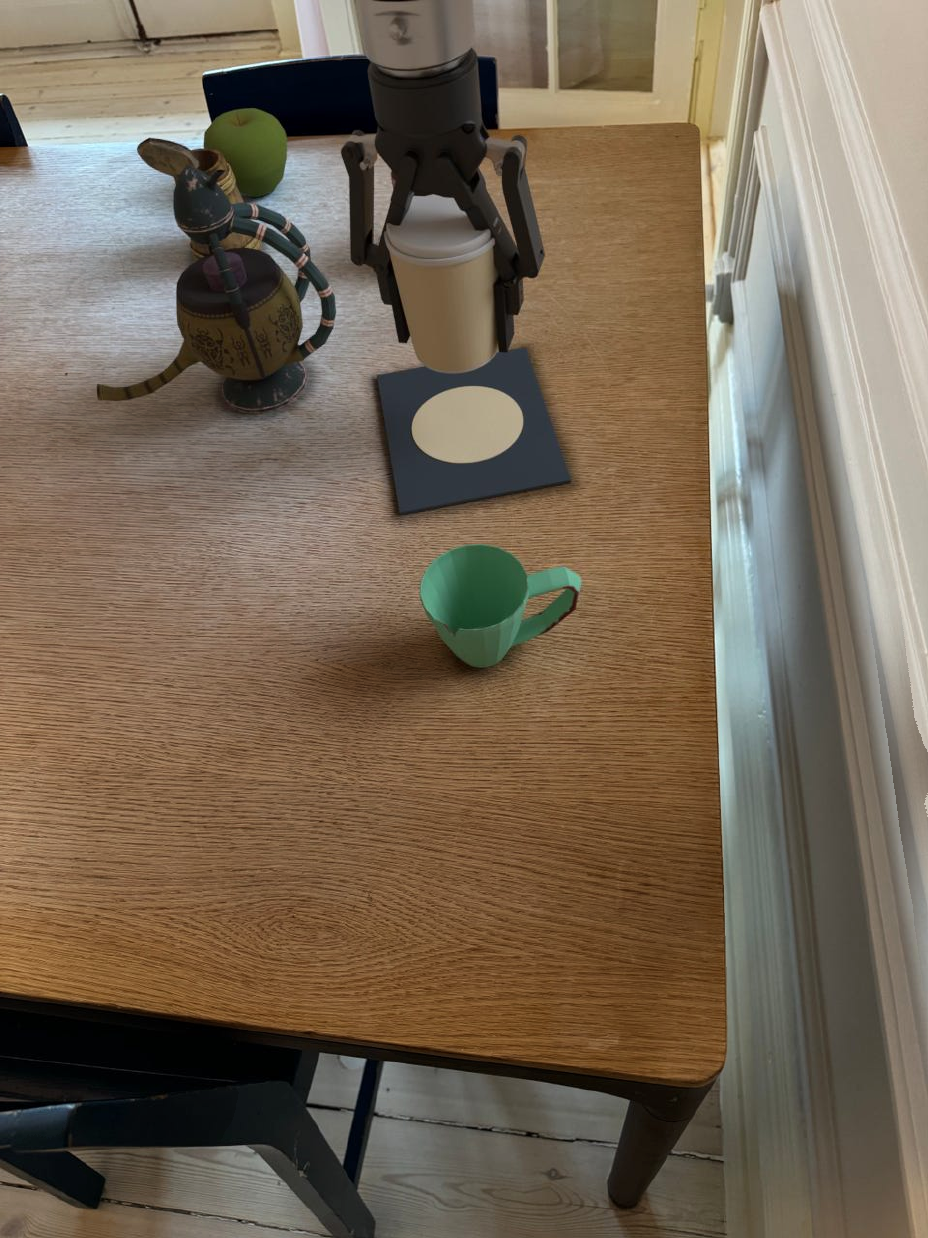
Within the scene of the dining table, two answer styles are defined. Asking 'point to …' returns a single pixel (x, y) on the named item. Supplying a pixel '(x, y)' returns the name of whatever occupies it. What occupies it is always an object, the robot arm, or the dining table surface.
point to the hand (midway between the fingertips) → (456, 337)
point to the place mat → (469, 433)
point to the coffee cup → (445, 284)
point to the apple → (250, 148)
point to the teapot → (240, 302)
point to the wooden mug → (208, 160)
